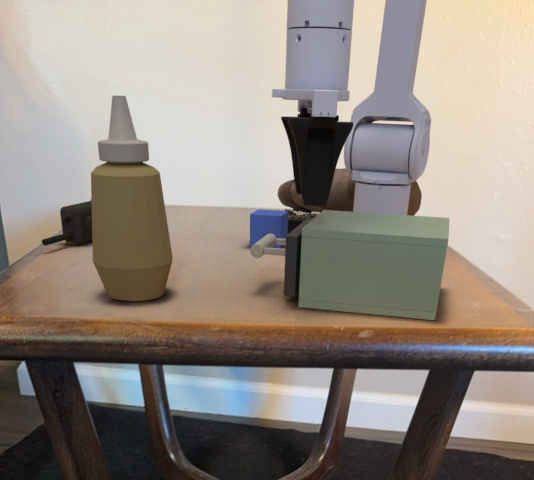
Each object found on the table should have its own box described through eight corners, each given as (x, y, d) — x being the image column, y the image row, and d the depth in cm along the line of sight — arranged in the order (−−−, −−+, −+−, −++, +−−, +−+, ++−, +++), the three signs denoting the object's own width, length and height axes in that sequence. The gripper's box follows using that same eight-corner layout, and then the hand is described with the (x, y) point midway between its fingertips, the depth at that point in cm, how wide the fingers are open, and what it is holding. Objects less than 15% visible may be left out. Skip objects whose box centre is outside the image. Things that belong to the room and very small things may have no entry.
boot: (426, 177, 109) (340, 184, 119) (363, 145, 91) (268, 156, 100) (420, 228, 111) (337, 230, 121) (358, 206, 93) (265, 211, 102)
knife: (323, 228, 98) (312, 225, 98) (322, 232, 99) (310, 230, 98) (294, 210, 110) (283, 208, 109) (293, 214, 110) (282, 212, 110)
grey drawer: (244, 291, 65) (244, 232, 62) (268, 268, 73) (270, 215, 70) (407, 306, 61) (416, 245, 58) (413, 280, 70) (421, 226, 67)
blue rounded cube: (257, 241, 91) (258, 209, 88) (287, 243, 90) (288, 210, 88) (249, 247, 87) (249, 213, 85) (280, 249, 86) (281, 215, 84)
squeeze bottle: (80, 298, 64) (52, 94, 55) (130, 281, 71) (112, 94, 61) (143, 311, 61) (126, 96, 52) (189, 291, 67) (181, 97, 58)
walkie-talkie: (98, 197, 91) (29, 212, 79) (118, 200, 90) (51, 215, 78) (101, 232, 94) (35, 252, 82) (121, 235, 93) (56, 255, 81)
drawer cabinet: (298, 307, 63) (302, 228, 59) (318, 279, 73) (323, 209, 69) (435, 320, 61) (448, 238, 57) (437, 289, 70) (449, 217, 66)
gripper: (269, 35, 61) (266, 188, 68) (278, 21, 48) (274, 210, 55) (341, 37, 61) (331, 189, 68) (369, 24, 49) (352, 211, 56)
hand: (310, 199), depth 62 cm, fingers open, 7 cm apart
